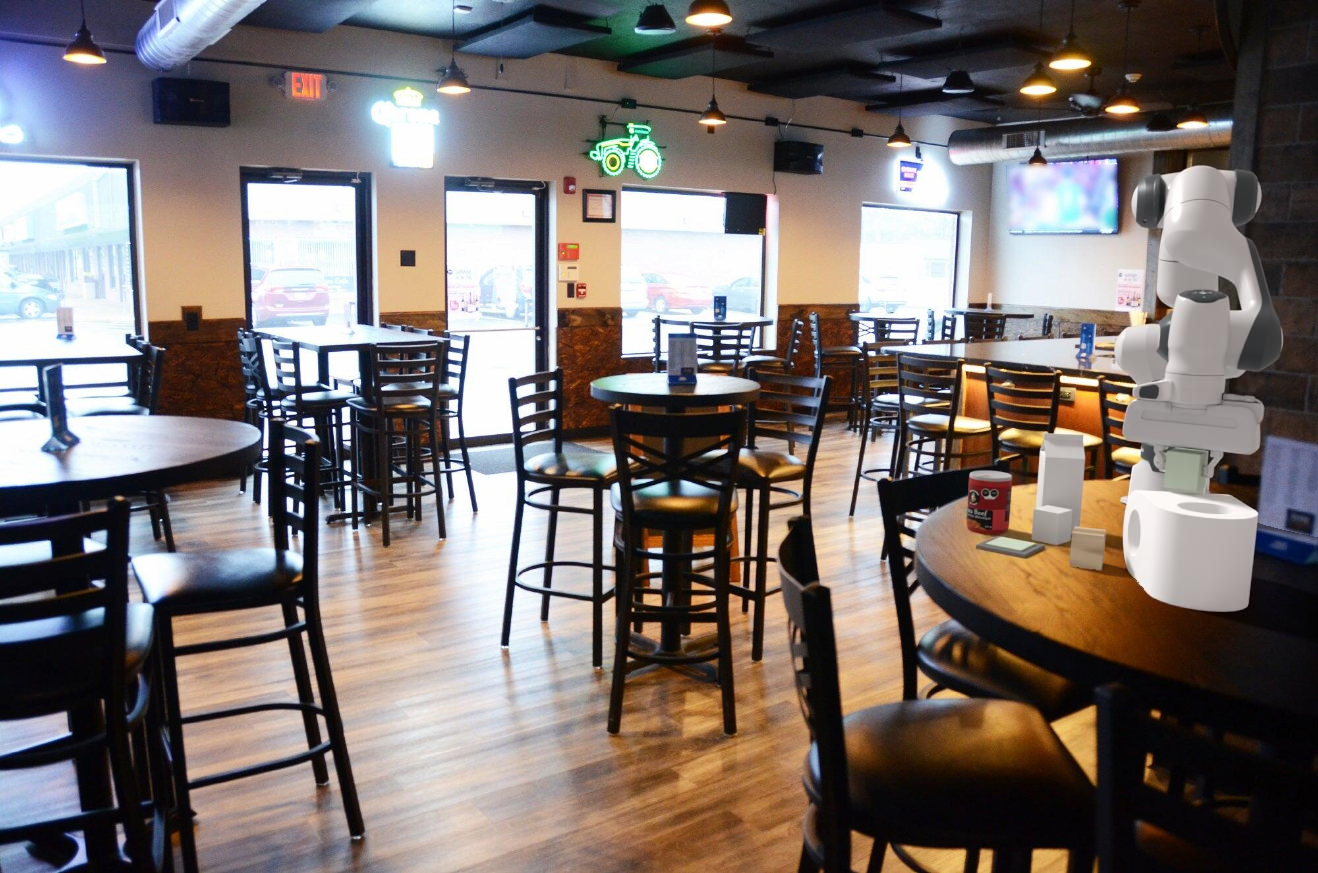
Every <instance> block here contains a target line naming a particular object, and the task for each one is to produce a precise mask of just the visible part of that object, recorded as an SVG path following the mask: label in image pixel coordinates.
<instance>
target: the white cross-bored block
mask: <svg viewBox="0 0 1318 873" xmlns="http://www.w3.org/2000/svg"><path fill="white" fill-rule="evenodd" d="M1258 520H1259V512H1258V511H1257V510H1256V509H1253V508H1252V507H1250V506H1249V505H1247V504H1246V503H1244V502H1242V501H1241V500H1239V499H1238V498H1236V497H1234V496H1233V495H1230V494H1221V493H1220V494H1219V493H1211V494H1204V493H1184V492H1164V491H1144V490H1134V491H1133V492H1132V493H1131V494H1130V496H1129V499H1128V501H1127V504H1126V505H1125V510H1124V516H1123V523H1122V524H1123V527H1122V546H1123V554H1124V555H1123V556H1124V560H1125V561H1124V562H1125V566H1126V568H1127V571H1128V573H1129V574H1130V575H1131V576H1132V577H1133V579H1134V578H1135V579H1136V580H1137V581H1136V580H1135V579H1134V580H1135V581H1136V582H1137V583H1138V582H1139V583H1138V585H1140V587H1141V586H1142V587H1143V588H1144V589H1143V588H1142V587H1141V588H1142V589H1143V590H1144V591H1145V592H1146V593H1147V595H1149V596H1150V597H1151V598H1153V599H1156V600H1158V601H1159V602H1163V603H1166V604H1167V605H1171V606H1175V607H1179V608H1185V609H1189V610H1190V609H1191V610H1196V611H1205V612H1221V613H1222V612H1224V613H1225V612H1237V611H1240V610H1244V609H1245V608H1247V607H1248V605H1249V602H1250V591H1251V582H1252V576H1253V565H1254V555H1255V546H1256V539H1257V531H1258V530H1257V528H1258Z"/></svg>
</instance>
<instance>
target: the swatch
mask: <svg viewBox="0 0 1318 873" xmlns="http://www.w3.org/2000/svg"><path fill="white" fill-rule="evenodd" d="M975 548H976V550H977V549H978V550H982V551H983V550H984V551H988V552H992V553H993V552H994V553H998V554H1003V555H1007V556H1011V557H1018V558H1022V559H1026V558H1027V557H1030V556H1032V555H1033V554H1035V553H1037V552H1039V551H1042V550H1043V549H1045V548H1046V546H1045V544H1044V543H1036V542H1032V541H1027V540H1022V539H1015V538H1011V537H1005V536H1000V535H996V536H994V537H991V538H990V539H987V540H985V541H982V542H979V543H978V544H976V545H975Z"/></svg>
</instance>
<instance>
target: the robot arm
mask: <svg viewBox="0 0 1318 873" xmlns="http://www.w3.org/2000/svg"><path fill="white" fill-rule="evenodd" d="M1262 197H1263V196H1262V189H1261V185H1260V182H1259V179H1258V176H1257V175H1256V174H1255V173H1254V172H1253V171H1250V170H1244V169H1237V168H1235V169H1234V170H1225V169H1224V170H1223V169H1217V168H1215V167H1212V166H1209V165H1194V166H1190V167H1188V168H1185V169H1183V170H1182V171H1179V172H1173V173H1166V174H1161V173H1156V174H1151V175H1148V176H1145V177H1143V178H1142V179H1140V180H1139V182H1138V183H1137V186H1136V187H1135V189H1134V192H1133V195H1132V197H1131V211H1132V215H1133V217H1134V219H1135V222H1136V223H1137V225H1139V226H1140V227H1141V228H1144V229H1150V230H1157V229H1162V233H1161V235H1160V236H1161V237H1160V243H1159V248H1158V260H1157V261H1158V262H1157V276H1156V295H1157V297H1158V298H1159V300H1160V301H1161V302H1162V303H1163V304H1165V305H1166V306H1168V307H1170V308H1171V309H1173V310H1172V311H1171V312H1169V313H1168V314H1166V315H1165V316H1163V318H1162V319H1160V320H1159V321H1158V323H1147V324H1139V325H1137V324H1136V325H1132V326H1127V327H1125V328H1124V330H1122V331H1121V332H1120V333H1119V335H1118V336H1117V338H1116V341H1115V343H1114V348H1113V349H1114V350H1113V354H1114V359H1115V360H1116V361H1115V362H1116V363H1117V365H1118V367H1119V368H1120V369H1121V370H1122V371H1123V372H1124V373H1126V374H1127V375H1128V376H1129V377H1130V378H1131V379H1132V380H1133V381H1134V382H1135V384H1136V385H1135V386H1134V387H1133V388H1132V397H1133V398H1134V399H1132V400H1131V401H1130V402H1129V403H1128V405H1127V407H1126V411H1125V414H1124V418H1123V425H1122V435H1123V437H1124V439H1125V440H1126V441H1129V442H1137V443H1141V446H1140V455H1139V456H1140V458H1141V459H1140V461H1139V462H1137V463H1135V464H1134V465H1132V468H1131V475H1130V480H1129V486H1128V487H1129V488H1128V495H1125V496H1122V497H1120V502H1121V503H1123V504H1126V505H1127V501H1128V499H1129V496H1130V494H1131V493H1132V492H1133V491H1134V490H1144V491H1164V492H1184V493H1204V494H1212V492H1211V490H1210V491H1209V489H1210V479H1211V478H1213V476H1214V472H1215V467H1216V466H1217V464H1218V463H1219V462H1220V460H1221V459H1222V458H1223V457H1224V453H1232V454H1240V455H1247V456H1248V455H1249V456H1250V455H1252V454H1254V453H1256V451H1258V449H1259V448H1260V447H1261V446H1260V444H1261V425H1260V424H1261V422H1262V421H1263V419H1264V415H1265V406H1264V404H1263V402H1262V401H1261V400H1260V399H1258V398H1256V397H1255V396H1253V395H1248V394H1245V395H1241V394H1235V393H1225V386H1226V379H1227V380H1228V379H1232V378H1233V379H1234V378H1239V377H1240V376H1242V375H1243V374H1244V373H1245V372H1246V371H1250V372H1256V373H1257V372H1258V373H1259V372H1260V371H1262V370H1264V369H1266V368H1267V367H1270V366H1271V365H1272V364H1274V363H1275V362H1276V361H1277V360H1279V358H1280V356H1281V352H1282V349H1283V345H1284V333H1283V329H1282V325H1281V322H1280V318H1279V317H1278V315H1277V312H1276V310H1275V308H1274V304H1273V302H1272V298H1271V295H1270V291H1269V287H1268V282H1267V280H1266V276H1265V272H1264V268H1263V265H1262V261H1261V258H1260V255H1259V252H1258V249H1257V247H1256V244H1255V243H1254V241H1253V240H1252V239H1250V238H1248V237H1247V236H1244V235H1243V233H1241V232H1240V231H1239V230H1238V229H1237V227H1240V226H1243V225H1246V224H1247V223H1249V222H1250V221H1251V220H1253V219H1254V218H1255V216H1256V213H1257V211H1258V209H1259V208H1260V205H1261V202H1262ZM1219 277H1222V278H1224V279H1226V280H1227V281H1229V282H1231V284H1233V285H1234V286H1235V288H1236V291H1237V297H1238V300H1239V304H1240V308H1241V310H1240V309H1239V310H1231V307H1230V298H1229V296H1228V295H1227V294H1226V293H1224V292H1222V291H1219ZM1176 447H1177V448H1185V449H1194V450H1202V451H1210V454H1209V456H1210V458H1212V459H1211V461H1210V462H1209V464H1207V465H1204V466H1202V469H1201V471H1202V472H1201V477H1206V483H1205V487H1204V488H1202V489H1200V490H1198V491H1197V492H1196V491H1189V490H1181V489H1174V488H1167V487H1164V477H1165V466H1166V456H1167V451H1169V450H1171V449H1174V448H1176Z"/></svg>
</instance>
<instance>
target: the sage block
mask: <svg viewBox="0 0 1318 873" xmlns="http://www.w3.org/2000/svg"><path fill="white" fill-rule="evenodd" d="M1209 451H1210V450H1205V451H1202V450H1194V449H1185V448H1177V447H1176V448H1174V449H1171V450H1169V451H1167V456H1166V466H1165V477H1164V487H1167V488H1174V489H1181V490H1189V491H1196V492H1197V491H1198V490H1200V489H1202V488H1204V487H1205V483H1206V477H1201V472H1202V471H1201V469H1202V466H1204V465H1208V462H1209Z"/></svg>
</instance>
